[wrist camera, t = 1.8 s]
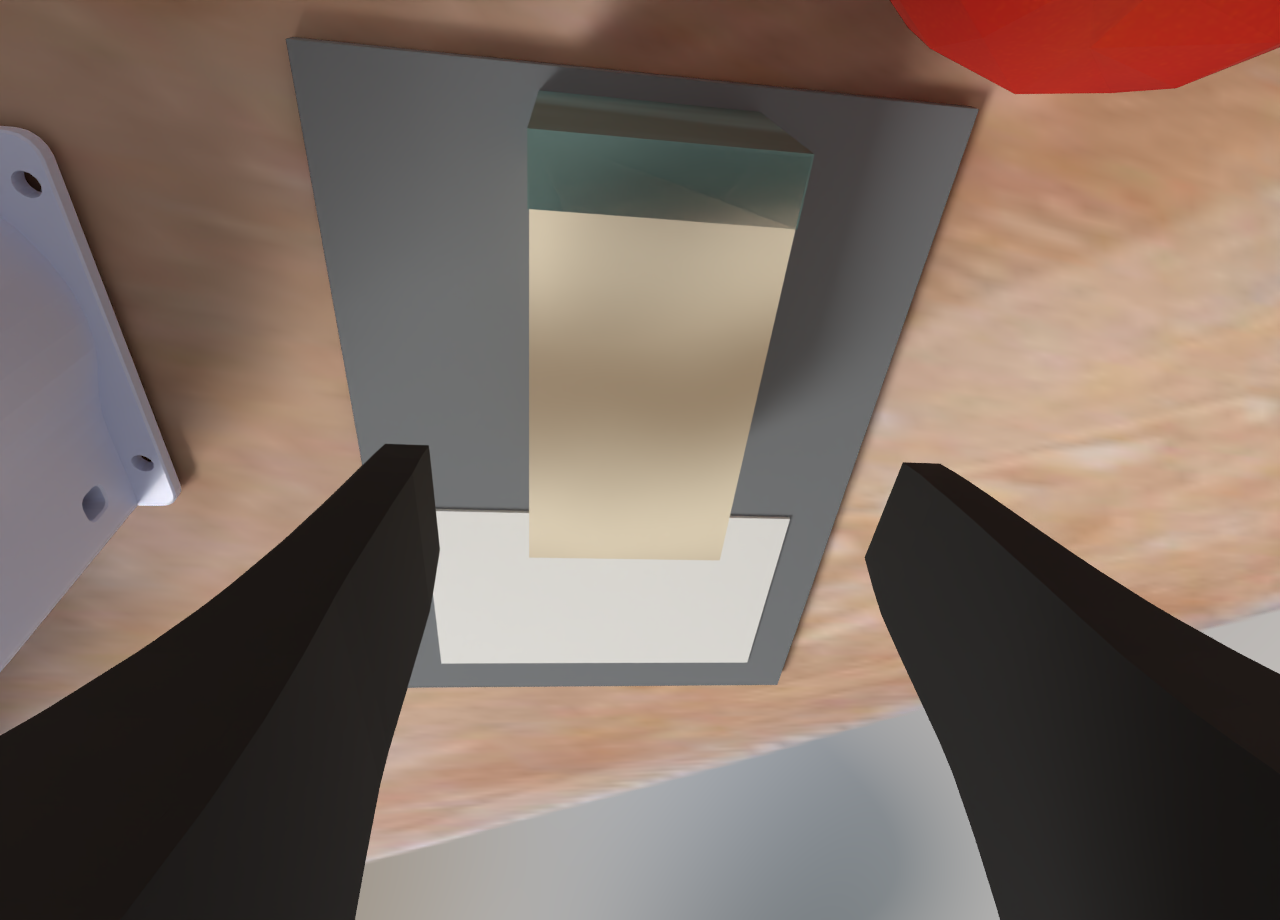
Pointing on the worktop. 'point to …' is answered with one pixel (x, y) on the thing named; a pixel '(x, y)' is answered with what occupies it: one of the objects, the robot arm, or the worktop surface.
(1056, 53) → the tomato
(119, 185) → the worktop surface
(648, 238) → the green and cream block
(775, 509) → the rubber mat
